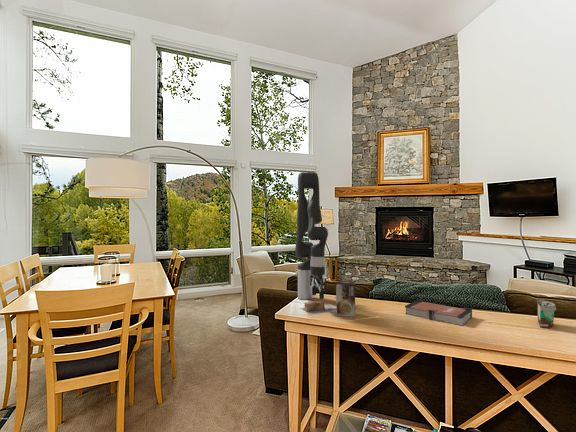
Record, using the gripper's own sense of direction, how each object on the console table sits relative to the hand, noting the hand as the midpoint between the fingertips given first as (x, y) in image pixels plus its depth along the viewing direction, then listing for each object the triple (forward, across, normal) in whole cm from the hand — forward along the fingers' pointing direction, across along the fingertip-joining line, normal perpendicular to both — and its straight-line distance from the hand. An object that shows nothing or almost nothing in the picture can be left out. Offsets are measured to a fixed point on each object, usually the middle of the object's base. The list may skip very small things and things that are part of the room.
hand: (317, 296), depth 171 cm
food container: (+8, +58, +86) cm, 104 cm away
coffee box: (+8, +11, +10) cm, 17 cm away
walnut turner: (+7, -1, +1) cm, 7 cm away
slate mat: (+7, -1, +2) cm, 8 cm away
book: (+8, +29, +51) cm, 59 cm away
